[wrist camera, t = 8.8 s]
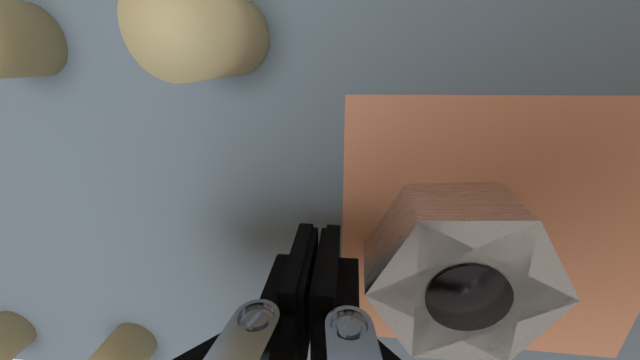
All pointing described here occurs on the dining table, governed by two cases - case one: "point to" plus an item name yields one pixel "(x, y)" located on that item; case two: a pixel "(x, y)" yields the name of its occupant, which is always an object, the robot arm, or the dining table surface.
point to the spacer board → (298, 154)
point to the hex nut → (464, 272)
